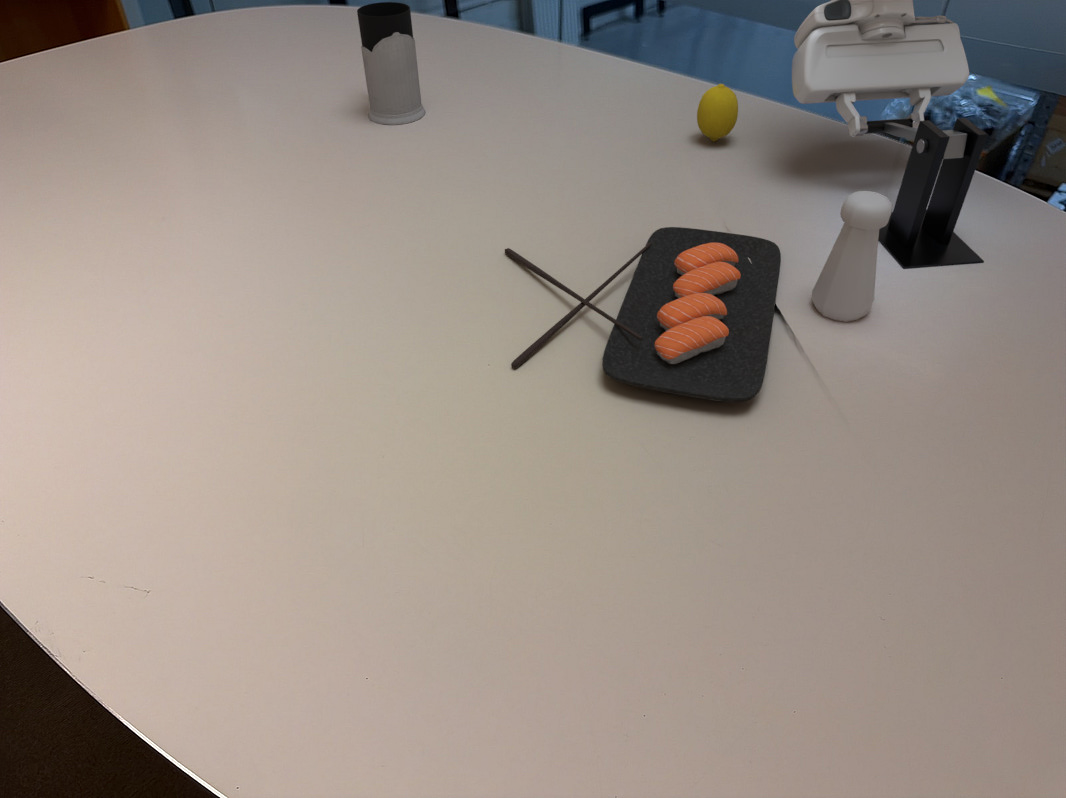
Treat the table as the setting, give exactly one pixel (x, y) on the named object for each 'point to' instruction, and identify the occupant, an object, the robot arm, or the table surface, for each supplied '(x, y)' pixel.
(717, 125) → the lemon
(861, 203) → the salt shaker
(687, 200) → the table surface
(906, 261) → the bracket
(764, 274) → the sushi plate
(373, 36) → the glass holder
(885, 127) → the lever
